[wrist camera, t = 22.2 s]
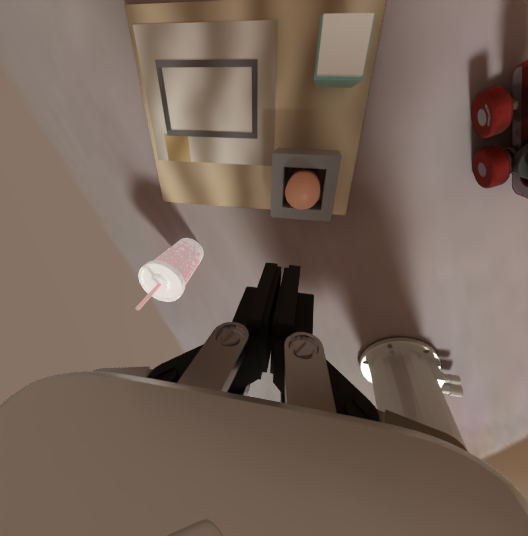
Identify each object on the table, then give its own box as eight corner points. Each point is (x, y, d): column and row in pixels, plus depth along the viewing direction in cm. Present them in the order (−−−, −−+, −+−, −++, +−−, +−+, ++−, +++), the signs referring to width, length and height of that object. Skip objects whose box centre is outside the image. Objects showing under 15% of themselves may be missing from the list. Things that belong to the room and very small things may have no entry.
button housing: (339, 150, 29) (341, 156, 26) (329, 210, 33) (330, 222, 29) (277, 147, 30) (272, 153, 27) (275, 206, 34) (270, 217, 30)
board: (386, -5, 23) (388, -9, 22) (344, 213, 33) (345, 215, 33) (128, 6, 26) (123, 4, 26) (165, 200, 37) (162, 201, 36)
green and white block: (357, 44, 24) (378, 8, 15) (349, 88, 26) (365, 78, 17) (320, 44, 25) (320, 9, 16) (315, 87, 26) (313, 77, 18)
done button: (321, 166, 30) (322, 176, 26) (318, 197, 32) (317, 210, 28) (290, 164, 30) (286, 174, 26) (288, 195, 32) (284, 208, 28)
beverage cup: (173, 227, 39) (111, 279, 27) (211, 242, 39) (165, 299, 28) (169, 259, 42) (112, 317, 31) (204, 272, 43) (160, 335, 31)
